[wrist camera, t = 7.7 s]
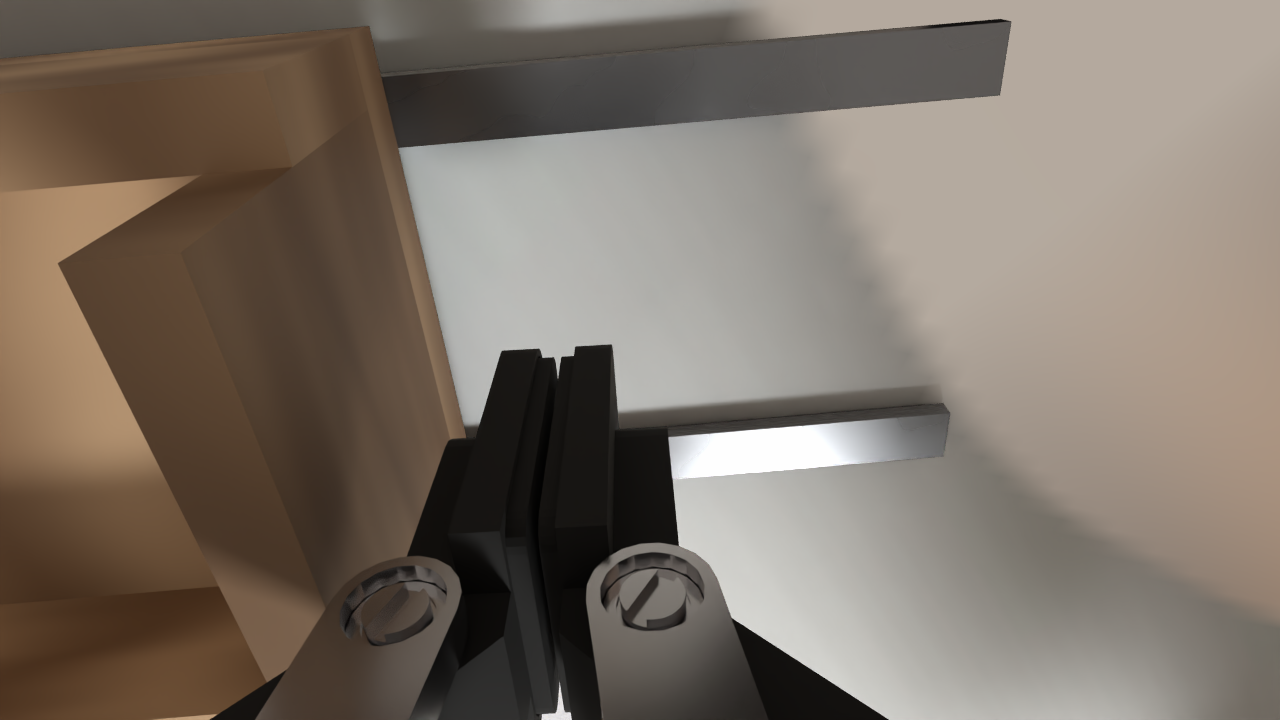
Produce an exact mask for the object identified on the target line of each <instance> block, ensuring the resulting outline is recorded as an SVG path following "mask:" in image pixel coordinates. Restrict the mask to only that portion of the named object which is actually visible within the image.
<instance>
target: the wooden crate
mask: <svg viewBox="0 0 1280 720" xmlns="http://www.w3.org/2000/svg"><path fill="white" fill-rule="evenodd" d="M456 438H466V434H465V430H464V425H463V421H462V417H461V413H460V408H459V404H458V400H457V396H456V392H455V387H454V383H453V379H452V375H451V370H450V366H449V362H448V358H447V353H446V349H445V345H444V341H443V336H442V332H441V328H440V324H439V320H438V315H437V311H436V307H435V303H434V298H433V294H432V290H431V286H430V281H429V277H428V273H427V269H426V265H425V260H424V256H423V252H422V248H421V243H420V239H419V235H418V231H417V226H416V222H415V218H414V214H413V210H412V205H411V201H410V197H409V193H408V188H407V184H406V180H405V176H404V171H403V167H402V163H401V159H400V155H399V150H398V146H397V142H396V138H395V133H394V129H393V125H392V121H391V116H390V112H389V108H388V104H387V100H386V95H385V91H384V87H383V83H382V78H381V74H380V70H379V66H378V61H377V57H376V53H375V49H374V45H373V40H372V36H371V32H370V28H369V26H365V27H354V28H342V29H331V30H319V31H308V32H297V33H285V34H274V35H263V36H251V37H240V38H229V39H217V40H206V41H195V42H183V43H172V44H161V45H149V46H138V47H126V48H115V49H104V50H92V51H81V52H70V53H58V54H47V55H36V56H24V57H13V58H2V59H0V720H210V719H211V718H213V717H214V716H216V715H217V714H219V713H220V712H222V711H224V710H225V709H227V708H228V707H230V706H231V705H233V704H234V703H236V702H237V701H239V700H241V699H242V698H244V697H245V696H247V695H248V694H250V693H251V692H253V691H254V690H256V689H258V688H259V687H261V686H262V685H264V684H265V683H267V682H268V681H270V680H271V679H273V678H275V677H276V676H278V675H279V674H281V673H282V672H284V671H285V670H287V669H288V667H289V666H290V664H291V663H292V661H293V659H294V658H295V656H296V655H297V653H298V652H299V650H300V648H301V647H302V645H303V644H304V642H305V640H306V639H307V637H308V636H309V634H310V633H311V631H312V629H313V628H314V626H315V625H316V623H317V622H318V620H319V618H320V617H321V615H322V614H323V612H324V611H325V609H326V607H327V606H328V604H329V603H330V601H331V600H332V598H333V597H334V596H335V595H336V594H337V592H338V591H339V590H340V589H341V588H342V586H343V585H344V584H345V583H347V582H348V581H349V580H351V579H352V578H353V577H355V576H356V575H357V574H359V573H360V572H361V571H363V570H365V569H367V568H370V567H372V566H374V565H376V564H378V563H380V562H383V561H387V560H391V559H395V558H398V557H407V554H408V551H409V548H410V546H411V543H412V540H413V537H414V534H415V531H416V529H417V526H418V523H419V520H420V517H421V514H422V511H423V509H424V506H425V503H426V500H427V497H428V494H429V491H430V489H431V486H432V483H433V480H434V477H435V474H436V472H437V469H438V466H439V463H440V460H441V457H442V454H443V452H444V449H445V446H446V444H447V442H448V441H449V440H451V439H456Z"/></svg>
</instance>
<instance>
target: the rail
mask: <svg viewBox="0 0 1280 720" xmlns="http://www.w3.org/2000/svg"><path fill="white" fill-rule="evenodd" d="M1010 27H1011V21H1007V20H1002V19H996V20H985V21H973V22H961V23H951V24H939V25H928V26H916V27H905V28H893V29H883V30H871V31H860V32H848V33H836V34H826V35H813V36H802V37H790V38H779V39H768V40H756V41H745V42H733V43H722V44H711V45H699V46H688V47H676V48H665V49H654V50H642V51H631V52H619V53H608V54H597V55H585V56H574V57H562V58H551V59H540V60H528V61H517V62H506V63H494V64H483V65H471V66H460V67H449V68H437V69H426V70H414V71H403V72H392V73H380V74H381V78H382V83H383V87H384V91H385V95H386V100H387V104H388V108H389V112H390V116H391V121H392V125H393V129H394V133H395V138H396V142H397V146H398V148H401V147H413V146H424V145H436V144H447V143H459V142H470V141H482V140H493V139H505V138H516V137H527V136H539V135H550V134H562V133H573V132H585V131H596V130H608V129H619V128H631V127H642V126H654V125H665V124H677V123H688V122H699V121H711V120H722V119H734V118H745V117H757V116H768V115H780V114H791V113H803V112H814V111H826V110H837V109H849V108H860V107H871V106H882V105H894V104H905V103H917V102H928V101H940V100H952V99H963V98H975V97H986V96H998V95H1000V91H1001V85H1002V78H1003V72H1004V65H1005V59H1006V53H1007V46H1008V40H1009V33H1010ZM949 417H950V412H949V411H948V409H947V408H946V407H945V405H944V404H943V403H942V404H930V405H918V406H906V407H895V408H883V409H871V410H859V411H848V412H836V413H824V414H812V415H801V416H789V417H777V418H765V419H754V420H742V421H730V422H718V423H707V424H695V425H683V426H671V427H667V428H668V438H669V448H670V459H671V469H672V479H683V478H694V477H706V476H718V475H730V474H742V473H753V472H765V471H777V470H789V469H801V468H812V467H824V466H836V465H848V464H860V463H871V462H883V461H895V460H907V459H919V458H930V457H942V456H944V449H945V443H946V437H947V430H948V424H949Z"/></svg>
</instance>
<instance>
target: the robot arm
mask: <svg viewBox="0 0 1280 720" xmlns="http://www.w3.org/2000/svg"><path fill="white" fill-rule="evenodd" d="M559 681H560V686H561V692H562V699H563V705H564V710H565V712H571V716H572V720H888V719H887V718H885V717H884V716H882V715H881V714H879V713H877V712H876V711H874V710H873V709H871V708H870V707H868V706H867V705H865V704H864V703H862V702H860V701H859V700H857V699H856V698H854V697H853V696H851V695H850V694H848V693H847V692H845V691H844V690H842V689H840V688H839V687H837V686H836V685H834V684H833V683H831V682H830V681H828V680H827V679H825V678H823V677H822V676H820V675H819V674H817V673H816V672H814V671H813V670H811V669H810V668H808V667H806V666H805V665H803V664H802V663H800V662H799V661H797V660H796V659H794V658H793V657H791V656H789V655H788V654H786V653H785V652H783V651H782V650H780V649H779V648H777V647H776V646H774V645H772V644H771V643H769V642H768V641H766V640H765V639H763V638H762V637H760V636H759V635H757V634H755V633H754V632H752V631H751V630H749V629H748V628H746V627H745V626H743V625H742V624H740V623H738V622H737V621H735V620H734V619H732V618H731V615H730V612H729V610H728V607H727V604H726V601H725V599H724V596H723V593H722V590H721V588H720V585H719V582H718V579H717V577H716V576H715V574H714V572H713V571H712V569H711V567H710V566H709V564H708V563H707V562H705V561H704V560H703V559H702V558H701V557H699V556H698V555H697V554H696V553H694V552H691V551H689V550H687V549H684V548H682V547H680V546H679V542H678V532H677V521H676V511H675V500H674V490H673V480H672V469H671V459H670V448H669V438H668V428H667V427H653V428H635V429H619V422H618V410H617V397H616V384H615V372H614V359H613V349H612V345H595V346H577V347H575V353H574V356H568V357H562V358H561V363H560V370H559V377H558V378H557V369H556V363H555V359H554V357H552V358H542V355H541V351H540V349H525V350H507V351H502V352H501V354H500V358H499V361H498V364H497V368H496V371H495V375H494V378H493V381H492V385H491V388H490V392H489V395H488V398H487V402H486V405H485V408H484V412H483V415H482V419H481V422H480V425H479V429H478V432H477V436H476V437H474V438H456V439H451V440H449V441H448V442H447V444H446V446H445V449H444V452H443V454H442V457H441V460H440V463H439V466H438V469H437V472H436V474H435V477H434V480H433V483H432V486H431V489H430V491H429V494H428V497H427V500H426V503H425V506H424V509H423V511H422V514H421V517H420V520H419V523H418V526H417V529H416V531H415V534H414V537H413V540H412V543H411V546H410V548H409V551H408V554H407V557H398V558H395V559H391V560H387V561H383V562H380V563H378V564H376V565H374V566H372V567H370V568H367V569H365V570H363V571H361V572H360V573H359V574H357V575H356V576H355V577H353V578H352V579H351V580H349V581H348V582H347V583H345V584H344V585H343V586H342V588H341V589H340V590H339V591H338V592H337V594H336V595H335V596H334V597H333V598H332V600H331V601H330V603H329V604H328V606H327V607H326V609H325V611H324V612H323V614H322V615H321V617H320V618H319V620H318V622H317V623H316V625H315V626H314V628H313V629H312V631H311V633H310V634H309V636H308V637H307V639H306V640H305V642H304V644H303V645H302V647H301V648H300V650H299V652H298V653H297V655H296V656H295V658H294V659H293V661H292V663H291V664H290V666H289V667H288V669H287V670H285V671H284V672H282V673H281V674H279V675H278V676H276V677H275V678H273V679H271V680H270V681H268V682H267V683H265V684H264V685H262V686H261V687H259V688H258V689H256V690H254V691H253V692H251V693H250V694H248V695H247V696H245V697H244V698H242V699H241V700H239V701H237V702H236V703H234V704H233V705H231V706H230V707H228V708H227V709H225V710H224V711H222V712H220V713H219V714H217V715H216V716H214V717H213V718H211V719H210V720H541V718H542V714H549V713H556V710H557V704H558V693H559Z"/></svg>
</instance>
